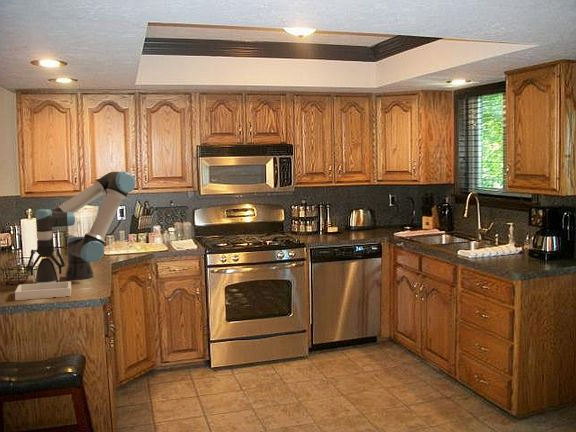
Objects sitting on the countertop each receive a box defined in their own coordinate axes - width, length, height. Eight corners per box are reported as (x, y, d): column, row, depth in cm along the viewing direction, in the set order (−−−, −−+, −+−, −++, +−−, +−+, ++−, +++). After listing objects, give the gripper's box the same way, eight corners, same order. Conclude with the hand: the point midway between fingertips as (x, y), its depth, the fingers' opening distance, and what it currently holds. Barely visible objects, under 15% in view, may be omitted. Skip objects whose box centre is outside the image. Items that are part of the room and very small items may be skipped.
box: (71, 289, 304) (71, 281, 303) (70, 296, 286) (70, 288, 286) (19, 292, 296) (18, 284, 295) (15, 300, 278) (14, 292, 278)
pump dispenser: (53, 284, 317) (51, 255, 316) (60, 286, 309) (59, 258, 308) (33, 286, 310) (32, 257, 309) (40, 289, 303) (39, 260, 301)
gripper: (69, 237, 315) (70, 278, 317) (20, 239, 307) (22, 281, 309) (68, 239, 308) (70, 280, 310) (19, 241, 300) (21, 283, 302)
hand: (46, 280), depth 310 cm, fingers open, 11 cm apart
